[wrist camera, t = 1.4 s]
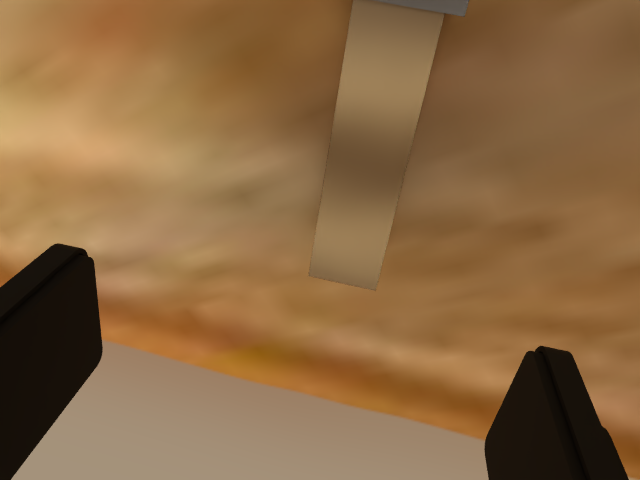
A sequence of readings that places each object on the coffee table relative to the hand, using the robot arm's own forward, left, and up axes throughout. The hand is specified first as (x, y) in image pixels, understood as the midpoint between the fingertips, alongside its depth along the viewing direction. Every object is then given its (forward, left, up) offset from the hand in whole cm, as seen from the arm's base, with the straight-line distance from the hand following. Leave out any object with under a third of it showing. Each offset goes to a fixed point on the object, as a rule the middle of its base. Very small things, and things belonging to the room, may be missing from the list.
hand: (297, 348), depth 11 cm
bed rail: (0, 0, -16) cm, 16 cm away
